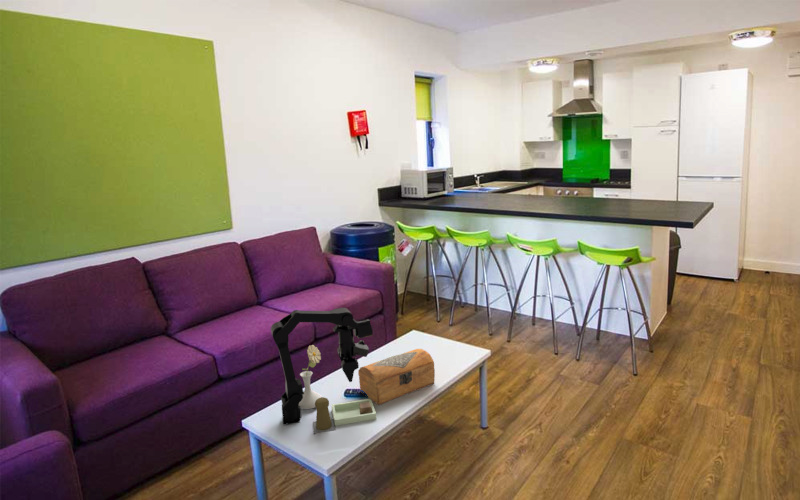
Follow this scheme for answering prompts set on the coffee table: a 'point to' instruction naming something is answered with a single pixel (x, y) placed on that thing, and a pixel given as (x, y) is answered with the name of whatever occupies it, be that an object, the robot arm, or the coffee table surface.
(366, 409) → the walnut block
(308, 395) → the flower in vase
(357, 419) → the tray
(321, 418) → the cork
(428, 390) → the coffee table surface
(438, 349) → the coffee table surface
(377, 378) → the wooden box
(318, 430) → the pad
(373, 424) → the coffee table surface
